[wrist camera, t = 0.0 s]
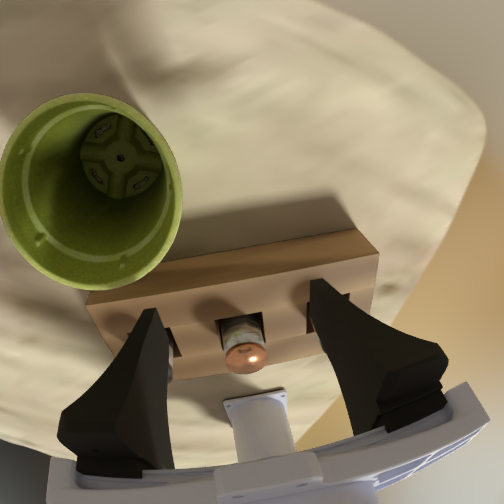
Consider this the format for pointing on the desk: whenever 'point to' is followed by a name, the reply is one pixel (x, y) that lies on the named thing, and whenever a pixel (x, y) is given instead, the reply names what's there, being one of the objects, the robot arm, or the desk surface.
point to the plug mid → (243, 344)
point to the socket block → (240, 297)
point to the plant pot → (89, 192)
